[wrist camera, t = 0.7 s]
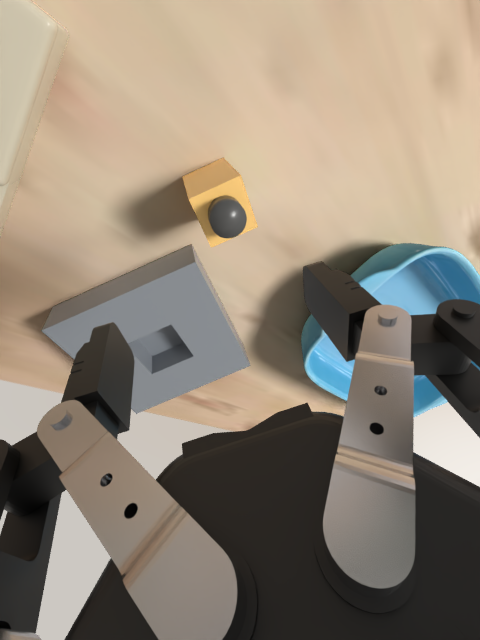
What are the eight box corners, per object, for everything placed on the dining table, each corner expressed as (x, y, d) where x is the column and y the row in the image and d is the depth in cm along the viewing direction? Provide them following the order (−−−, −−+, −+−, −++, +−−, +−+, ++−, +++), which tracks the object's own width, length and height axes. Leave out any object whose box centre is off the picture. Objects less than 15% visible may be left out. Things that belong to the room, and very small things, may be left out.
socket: (191, 244, 30) (195, 261, 27) (243, 344, 40) (250, 365, 37) (52, 306, 31) (41, 330, 28) (138, 389, 41) (136, 413, 38)
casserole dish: (489, 326, 51) (529, 355, 45) (384, 401, 59) (407, 433, 53) (393, 186, 31) (443, 206, 26) (254, 327, 39) (270, 366, 33)
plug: (223, 157, 26) (245, 180, 19) (238, 200, 28) (263, 234, 22) (182, 176, 26) (190, 205, 19) (201, 218, 28) (214, 255, 22)
